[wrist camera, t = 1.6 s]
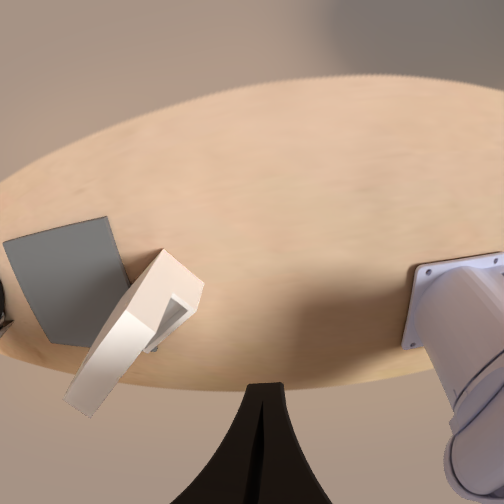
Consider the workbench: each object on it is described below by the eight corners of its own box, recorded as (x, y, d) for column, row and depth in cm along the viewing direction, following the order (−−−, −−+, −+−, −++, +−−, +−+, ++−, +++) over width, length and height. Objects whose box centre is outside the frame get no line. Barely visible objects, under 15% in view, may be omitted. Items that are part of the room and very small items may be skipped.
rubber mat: (107, 216, 18) (104, 218, 17) (157, 348, 23) (156, 351, 22) (4, 241, 20) (2, 243, 19) (52, 340, 25) (50, 342, 24)
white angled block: (87, 344, 19) (62, 399, 11) (161, 247, 21) (169, 253, 13) (123, 370, 20) (118, 434, 12) (197, 277, 22) (227, 301, 14)
